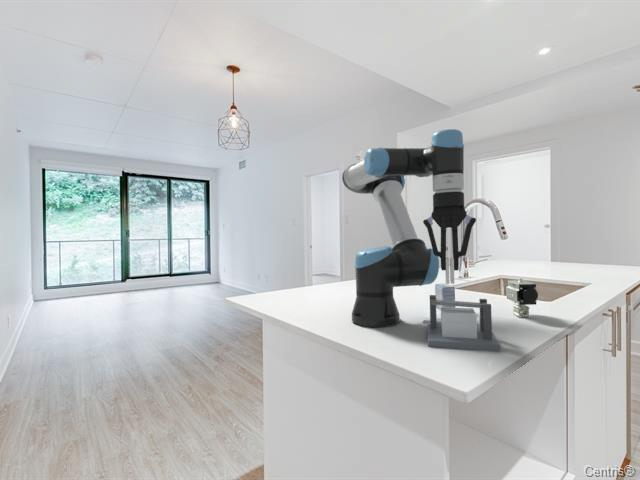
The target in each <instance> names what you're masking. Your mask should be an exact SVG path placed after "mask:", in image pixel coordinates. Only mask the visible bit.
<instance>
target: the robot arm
mask: <svg viewBox="0 0 640 480" xmlns="http://www.w3.org/2000/svg"><path fill="white" fill-rule="evenodd" d="M463 137H464V136H463V132H462V131H461V130H460V129H456V128H455V129H442V130H438V131H435V132H434V133H433V134H432V136H431V142H430V144H431V145H430V146H428V147H425V148H424V147H420V148H418V147H417V148H414V147H413V148H412V147H411V148H409V147H408V148H407V147H406V148H400V147H399V148H398V147H397V148H395V147H394V148H389V147H387V148H386V147H377V148H376V147H375V148H369V149H367V151H366V152H365V155H364V159H363V160H362V161H360V162H358V163H352V164H350V165H348V166H347V167H345V169H344V170H343V173H342V176H341V180H342V183H343V185H344V187H345V188H347V189H348V191H350V192H352V193H354V194H356V193H357V194H372V198H373V199H374V200H375V201H377V202H378V203H379V206H380V209H381V212H382V215H383V218H384V222H385V224H386V228H387V231H388V233H389V236H390V239H391V244H392V245H393V246H392V247H391V246H380V247H379V246H377V247H372V248H371V247H370V248H367V249H362V250H360V251H358V252H356V254H355V259H354V260H355V262H354V263H355V265H354V269H355V286H356V287H355V290H356V291H355V292H356V297H355V302H354V305H353V307H352V311H351V322H352V321H353V322H354V323H353V322H352V323H353V324H355V323H356V324H355V325H357V324H359V325H358V326H361V325H363V326H362V327H368V326H370V327H371V328H381V327H382V328H384V327H390V326H394V325H397V324H399V323H400V322H401V321H400V319H401V318H400V312H399V309H398V306H397V303H396V300H395V298H394V288H395V287H396V288H397V287H398V288H399V287H412V286H419V287H421V286H424V285H426V286H427V285H431V284H432V283H434V282H435V281H436V279H437V278H438V274H439V271H440V268H441V271H445V284H449V285H451V284H452V285H453V284H454V285H455V271H459V268H460V267H459V266H460V265H459V260H460V257H464V256H466V254H467V251H468V248H469V247H468V246H469V242H470V238H471V234H472V228H473V226H474V225H475V223H476V222H477V218H476V217H472V216H470V215H468V214H467V211H466V209H465V193H464V192H463V190H464V189H465V186H464V185H465V184H464V183H465V182H464V180H465V179H464V178H465V177H464V168H465V167H464V163H465V162H464V161H465V160H464V158H465V157H464V155H465V154H464V148H465V145H464V138H463ZM405 176H416V177H417V178H424V177H426V178H428V177H430V176H432V192H435V193H434V194H433V195H432V207H433V208H432V212H431V215H430V216H429V217H428V218H426V219H423V224H424V226H425V227H426V229H427V232H428V233H427V234H428V237H429V241H430V244H431V247H430V248H427V246H426V243H425V241H424V240H423V239H421V238H418V235H417V232H416V230H415V228H414V225H413V223H412V220H411V217H410V215H409V212H408V209H407V207H406V204H405V202H404V201H405V200H404V199H403V197H402V192H403V190H404V188H405V184H406V183H405V182H406V181H405V180H406V179H405ZM433 221H434V222H435V223H436V224H437V226H438V227H439V228H440V251H439V250H438V246H437V242H436V237H435V233H434V229H433V227H432V226H433V224H434V222H433ZM463 221H464V223H465V224H466V225H465V229H464V234H463V238H462V242H461V247H460V251H459V235H458V234H459V233H458V232H459V231H458V229H459V228H458V227H459V226H460V225H461V224H462V223H463ZM448 228H451V245H452V257H451V256H450V257H447V229H448ZM370 327H369V328H370Z"/></svg>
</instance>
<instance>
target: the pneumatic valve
mask: <svg viewBox="0 0 640 480" xmlns="http://www.w3.org/2000/svg"><path fill="white" fill-rule="evenodd" d="M504 296H505V297H506V299H507V300H509V301H511V302H514V304H513V305H512V307H513V314H512V315H513V316H515V317H518V318H519V319H520V318H531V317H530V316H531V315H530V306H531V305H532V306H533V305H534V306H536V305H537V300H538V298H539V293H538V291H537V284H536V283H533V282H530V281H527V280H524V279H523V278H518V279H510V280H508V279H507V280H506V285H505V286H504ZM528 305H530V306H528Z"/></svg>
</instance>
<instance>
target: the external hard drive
mask: <svg viewBox="0 0 640 480" xmlns="http://www.w3.org/2000/svg"><path fill="white" fill-rule="evenodd" d="M436 321H437V325H441V310H440V311H437V310H436ZM422 323H423V324H427V325H430V314H428V316H426V318H424V319H423V320H422Z"/></svg>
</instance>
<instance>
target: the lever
mask: <svg viewBox="0 0 640 480" xmlns="http://www.w3.org/2000/svg"><path fill="white" fill-rule="evenodd" d="M483 304H488V302H487V303H486V302H485V301H482V302H481V303H480V302H475V301H474V302H473V301H461V300H460V301H459V300H455V301H447V300H435V299H431V305H447V306H455V307H460V308H477V309H480V308H483Z"/></svg>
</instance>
